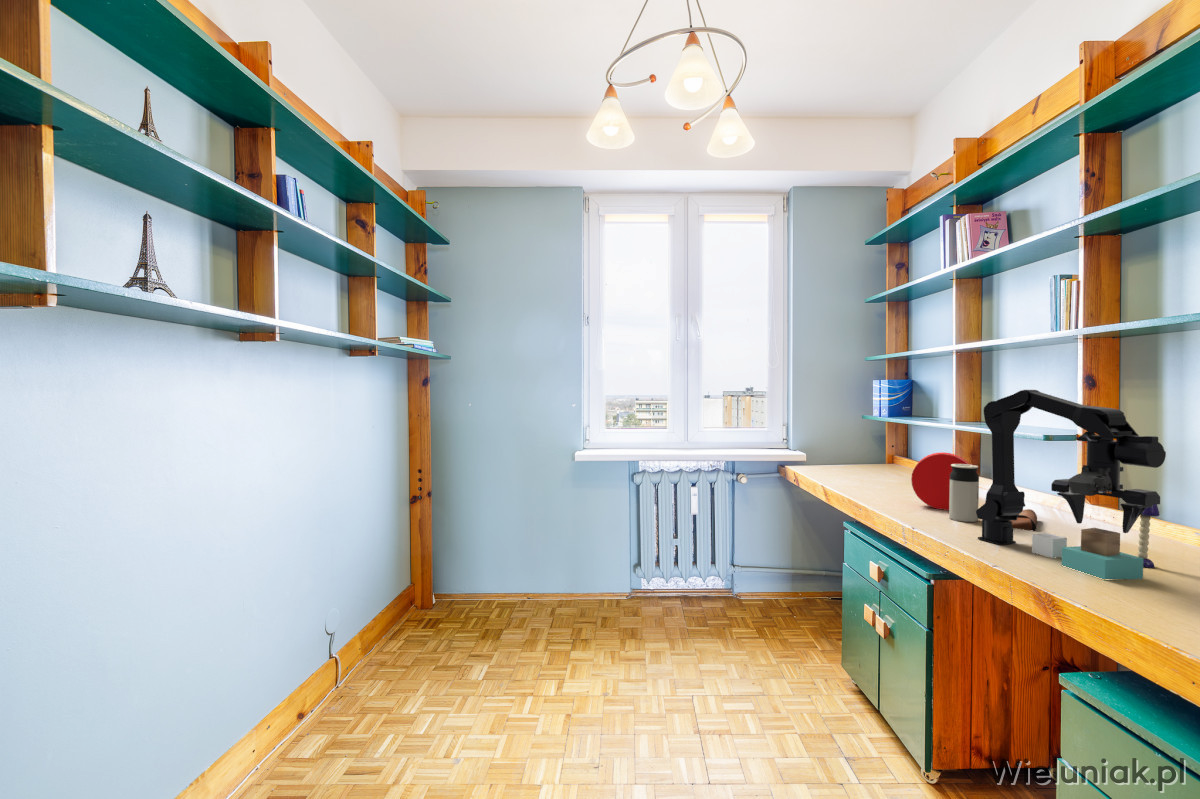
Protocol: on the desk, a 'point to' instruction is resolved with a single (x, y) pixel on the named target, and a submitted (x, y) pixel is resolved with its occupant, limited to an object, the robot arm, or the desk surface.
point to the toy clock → (935, 478)
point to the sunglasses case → (1026, 520)
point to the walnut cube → (1100, 541)
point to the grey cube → (1048, 544)
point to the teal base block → (1103, 564)
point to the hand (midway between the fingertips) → (1101, 527)
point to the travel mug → (964, 493)
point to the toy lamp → (1146, 534)
